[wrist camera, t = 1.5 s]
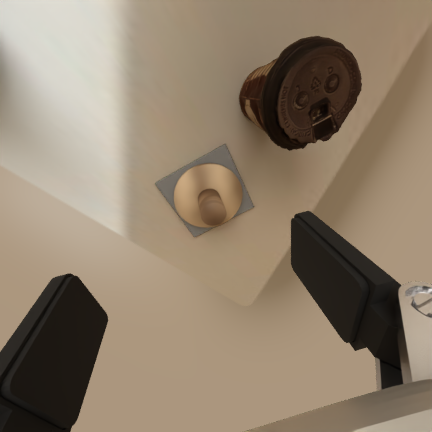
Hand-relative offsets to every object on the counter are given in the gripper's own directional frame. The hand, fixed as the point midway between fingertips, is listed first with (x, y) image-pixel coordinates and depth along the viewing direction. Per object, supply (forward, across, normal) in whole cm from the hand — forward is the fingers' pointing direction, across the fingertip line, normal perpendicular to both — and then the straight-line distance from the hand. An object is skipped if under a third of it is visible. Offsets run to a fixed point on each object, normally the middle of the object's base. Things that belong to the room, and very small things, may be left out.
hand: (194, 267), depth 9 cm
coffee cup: (+24, -12, -5) cm, 27 cm away
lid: (+23, -2, +8) cm, 25 cm away
